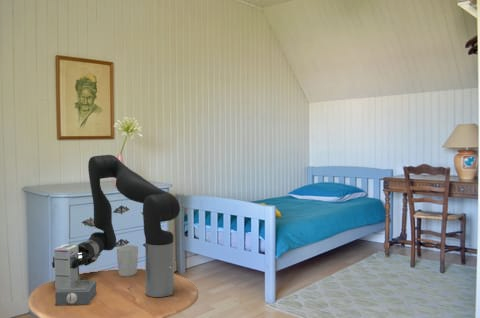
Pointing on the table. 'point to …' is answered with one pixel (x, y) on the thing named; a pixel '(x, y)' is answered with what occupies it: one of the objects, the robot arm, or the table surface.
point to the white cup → (127, 260)
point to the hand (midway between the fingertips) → (63, 265)
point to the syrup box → (65, 264)
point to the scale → (75, 296)
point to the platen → (76, 285)
